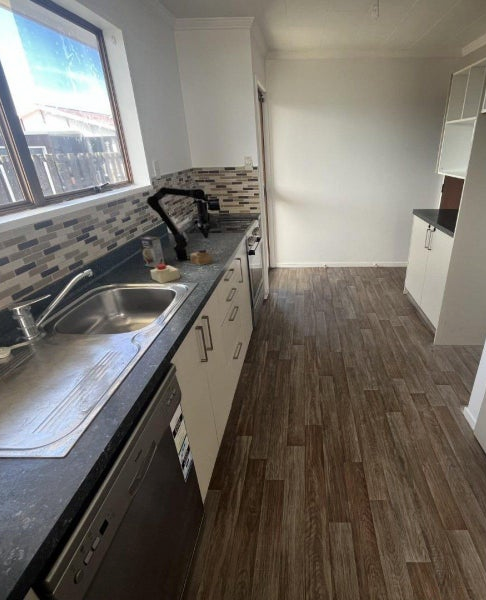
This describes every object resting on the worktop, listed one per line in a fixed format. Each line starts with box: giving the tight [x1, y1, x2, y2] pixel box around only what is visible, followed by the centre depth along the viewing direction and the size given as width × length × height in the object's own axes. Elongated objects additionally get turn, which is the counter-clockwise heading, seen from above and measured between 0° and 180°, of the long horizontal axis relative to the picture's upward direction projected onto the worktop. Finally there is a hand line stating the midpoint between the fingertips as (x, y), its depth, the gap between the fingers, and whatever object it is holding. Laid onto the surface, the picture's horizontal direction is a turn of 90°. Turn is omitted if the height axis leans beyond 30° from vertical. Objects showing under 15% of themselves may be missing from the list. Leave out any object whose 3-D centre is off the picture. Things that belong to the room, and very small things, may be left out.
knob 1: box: [157, 263, 167, 270], centre depth 162 cm, size 4×4×2 cm
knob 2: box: [198, 247, 207, 253], centre depth 185 cm, size 4×4×2 cm
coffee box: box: [138, 235, 165, 269], centre depth 183 cm, size 9×6×16 cm
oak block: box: [189, 249, 212, 267], centre depth 188 cm, size 11×8×7 cm
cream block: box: [150, 265, 181, 284], centre depth 166 cm, size 10×10×6 cm
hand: (206, 238), depth 193 cm, fingers closed
